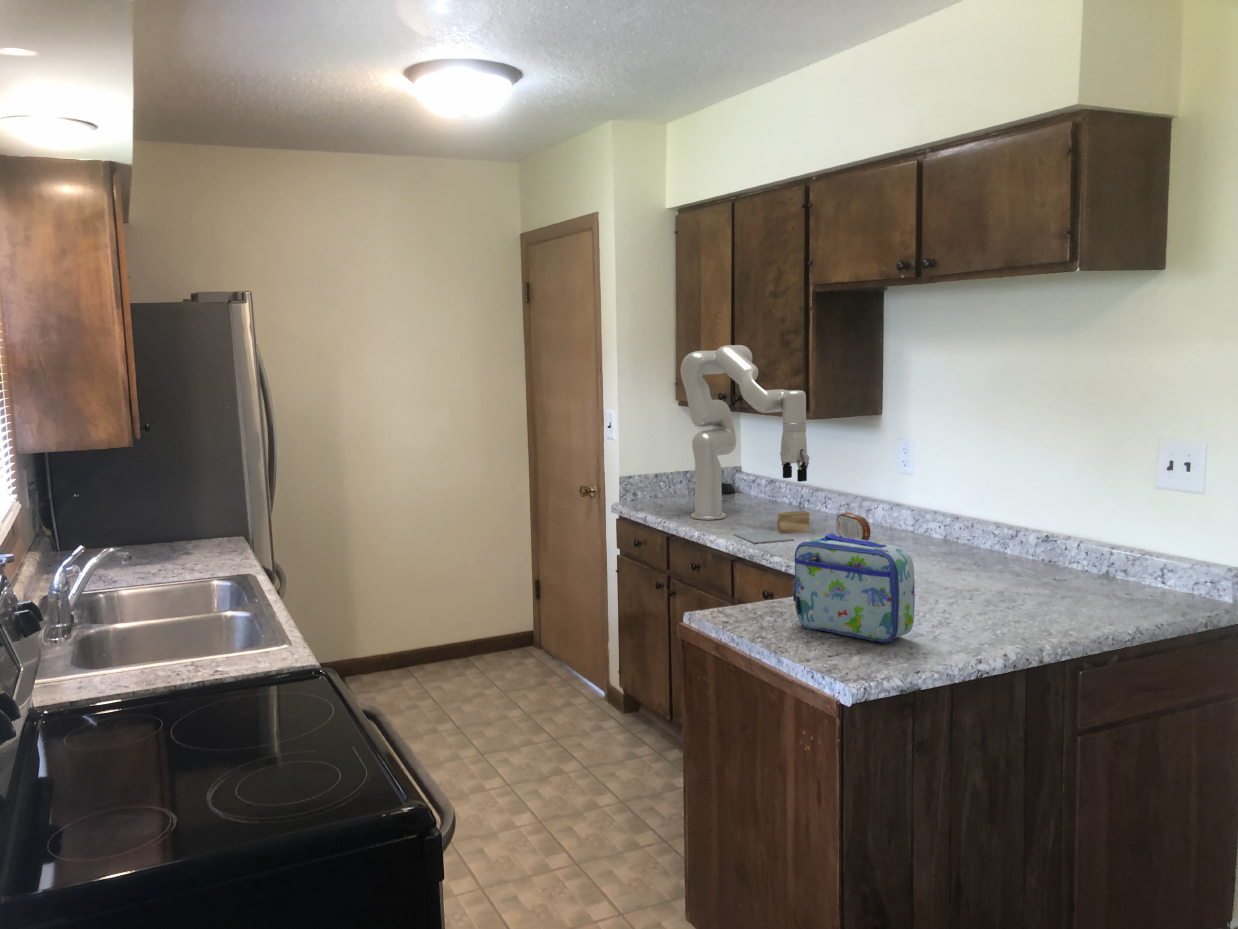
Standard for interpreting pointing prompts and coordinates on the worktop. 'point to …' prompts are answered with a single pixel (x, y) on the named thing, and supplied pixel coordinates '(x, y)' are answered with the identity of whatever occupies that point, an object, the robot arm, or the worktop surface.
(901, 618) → the lunch box
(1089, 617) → the worktop surface
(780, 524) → the block
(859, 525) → the tin
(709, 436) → the robot arm
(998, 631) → the worktop surface
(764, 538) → the mat
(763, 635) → the worktop surface
